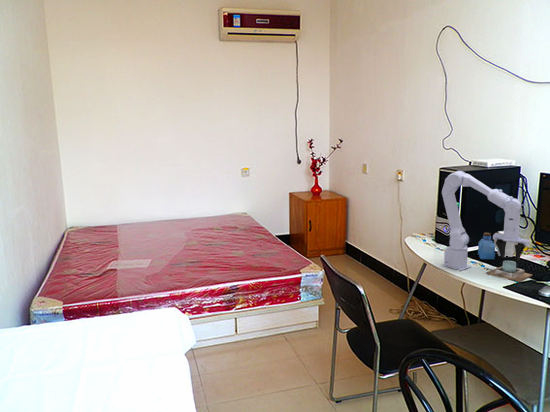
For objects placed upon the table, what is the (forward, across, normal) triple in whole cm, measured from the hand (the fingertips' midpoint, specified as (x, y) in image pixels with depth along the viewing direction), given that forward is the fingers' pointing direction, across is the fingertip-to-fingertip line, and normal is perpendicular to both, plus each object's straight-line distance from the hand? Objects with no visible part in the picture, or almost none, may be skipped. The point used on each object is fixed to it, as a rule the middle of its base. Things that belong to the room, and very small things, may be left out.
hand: (509, 258), depth 187 cm
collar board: (+7, 0, 0) cm, 7 cm away
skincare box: (+8, -14, +24) cm, 29 cm away
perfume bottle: (+8, -19, +16) cm, 26 cm away
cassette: (+8, -19, +34) cm, 40 cm away
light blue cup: (+7, 0, 0) cm, 7 cm away
